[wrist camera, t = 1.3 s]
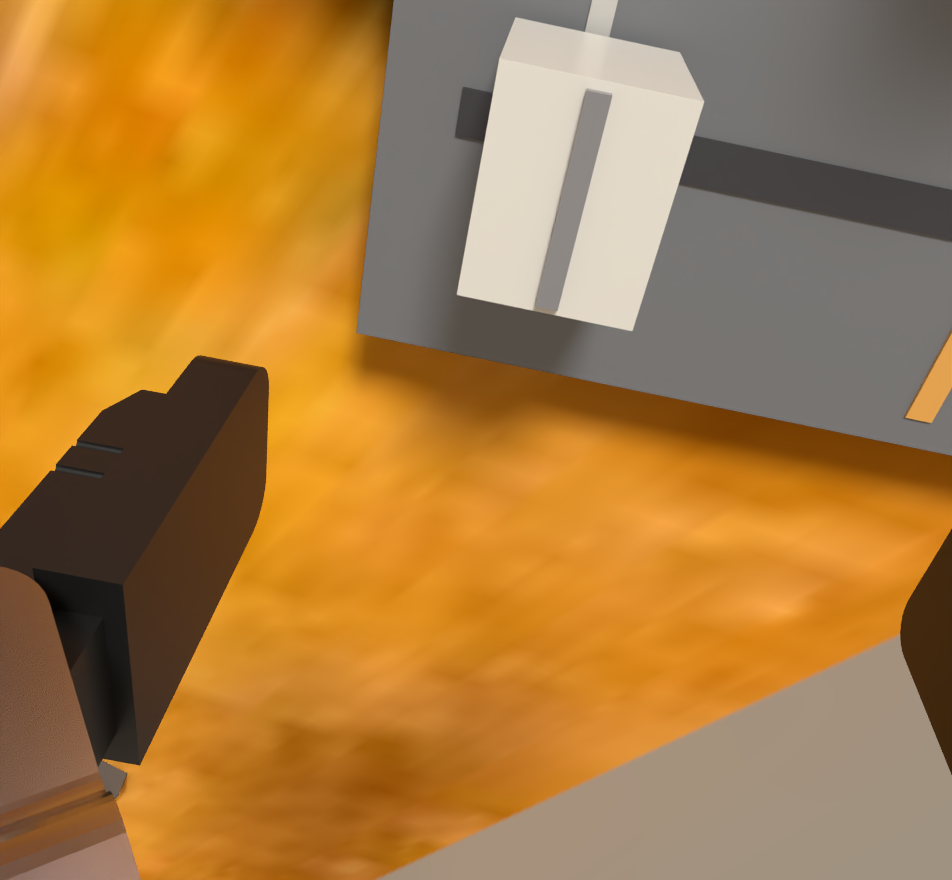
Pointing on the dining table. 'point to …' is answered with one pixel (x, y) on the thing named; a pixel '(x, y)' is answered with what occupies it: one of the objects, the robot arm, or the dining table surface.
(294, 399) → the dining table surface
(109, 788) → the door handle
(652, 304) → the console board
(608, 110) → the slider knob
